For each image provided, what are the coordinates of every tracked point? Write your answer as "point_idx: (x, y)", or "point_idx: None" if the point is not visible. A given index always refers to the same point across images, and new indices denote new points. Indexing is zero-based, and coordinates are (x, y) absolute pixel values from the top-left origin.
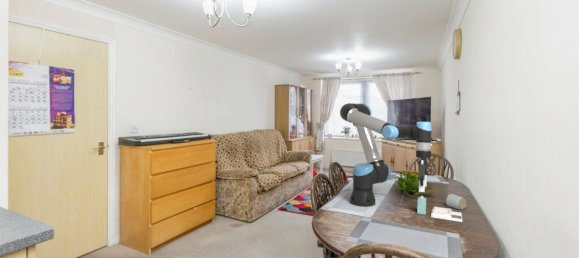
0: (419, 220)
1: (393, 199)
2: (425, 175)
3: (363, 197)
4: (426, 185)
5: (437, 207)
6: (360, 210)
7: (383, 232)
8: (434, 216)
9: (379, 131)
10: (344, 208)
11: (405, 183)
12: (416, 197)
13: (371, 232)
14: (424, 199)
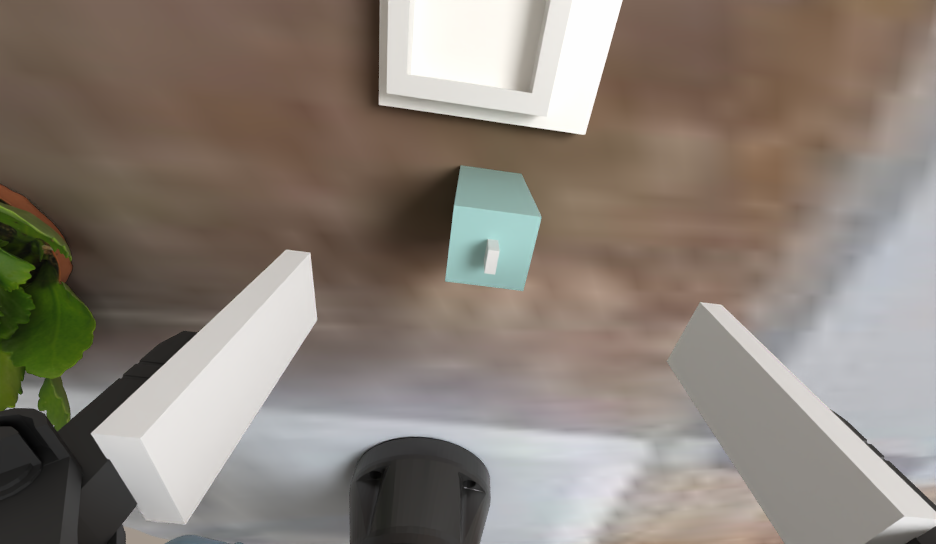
0: (677, 224)
1: None
2: (157, 451)
3: (481, 524)
4: (279, 259)
5: (406, 56)
6: (559, 476)
7: (882, 392)
8: (589, 105)
9: None
10: (549, 519)
11: None
12: (43, 216)
13: (875, 428)
14: (530, 229)
